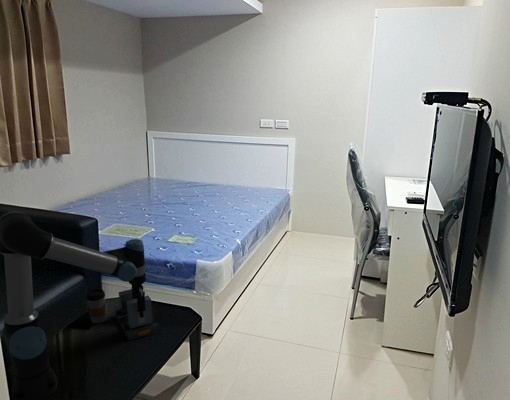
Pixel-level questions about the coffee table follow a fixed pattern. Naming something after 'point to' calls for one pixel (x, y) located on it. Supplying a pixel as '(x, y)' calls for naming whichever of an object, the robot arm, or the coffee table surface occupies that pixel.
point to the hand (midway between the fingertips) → (140, 320)
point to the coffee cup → (96, 305)
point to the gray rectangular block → (133, 313)
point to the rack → (123, 319)
